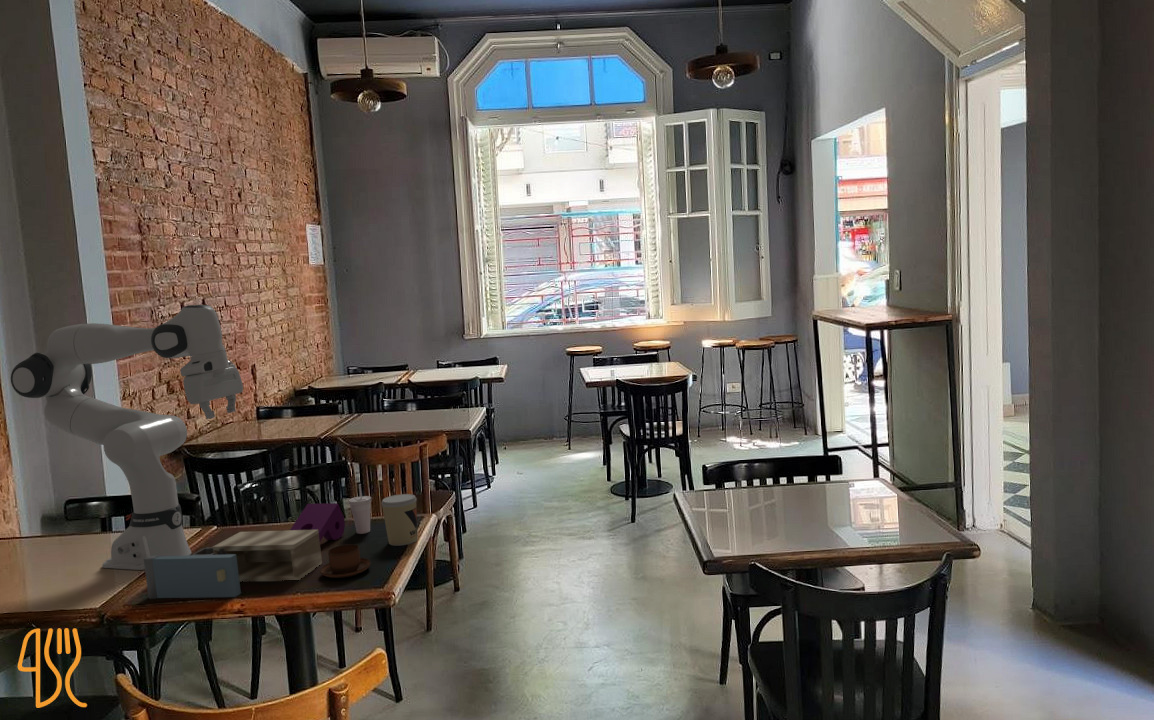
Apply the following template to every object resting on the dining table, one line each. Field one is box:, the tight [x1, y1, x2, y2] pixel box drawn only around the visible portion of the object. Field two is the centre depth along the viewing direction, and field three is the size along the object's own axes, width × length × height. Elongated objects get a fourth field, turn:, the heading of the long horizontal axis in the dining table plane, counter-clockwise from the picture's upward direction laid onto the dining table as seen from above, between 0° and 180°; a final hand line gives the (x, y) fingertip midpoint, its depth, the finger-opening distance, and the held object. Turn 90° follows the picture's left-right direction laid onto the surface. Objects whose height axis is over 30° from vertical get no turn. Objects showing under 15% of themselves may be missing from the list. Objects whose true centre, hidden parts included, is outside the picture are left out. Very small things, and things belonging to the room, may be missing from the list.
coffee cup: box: [381, 493, 418, 547], centre depth 232 cm, size 9×9×12 cm
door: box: [144, 554, 242, 600], centre depth 201 cm, size 23×4×10 cm, turn 79°
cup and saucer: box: [319, 543, 371, 579], centre depth 209 cm, size 12×12×6 cm
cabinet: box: [190, 529, 323, 583], centre depth 212 cm, size 25×17×9 cm
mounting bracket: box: [289, 502, 346, 542], centre depth 237 cm, size 10×9×19 cm
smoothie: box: [348, 483, 372, 535], centre depth 244 cm, size 6×6×14 cm
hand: (221, 415), depth 227 cm, fingers open, 8 cm apart
